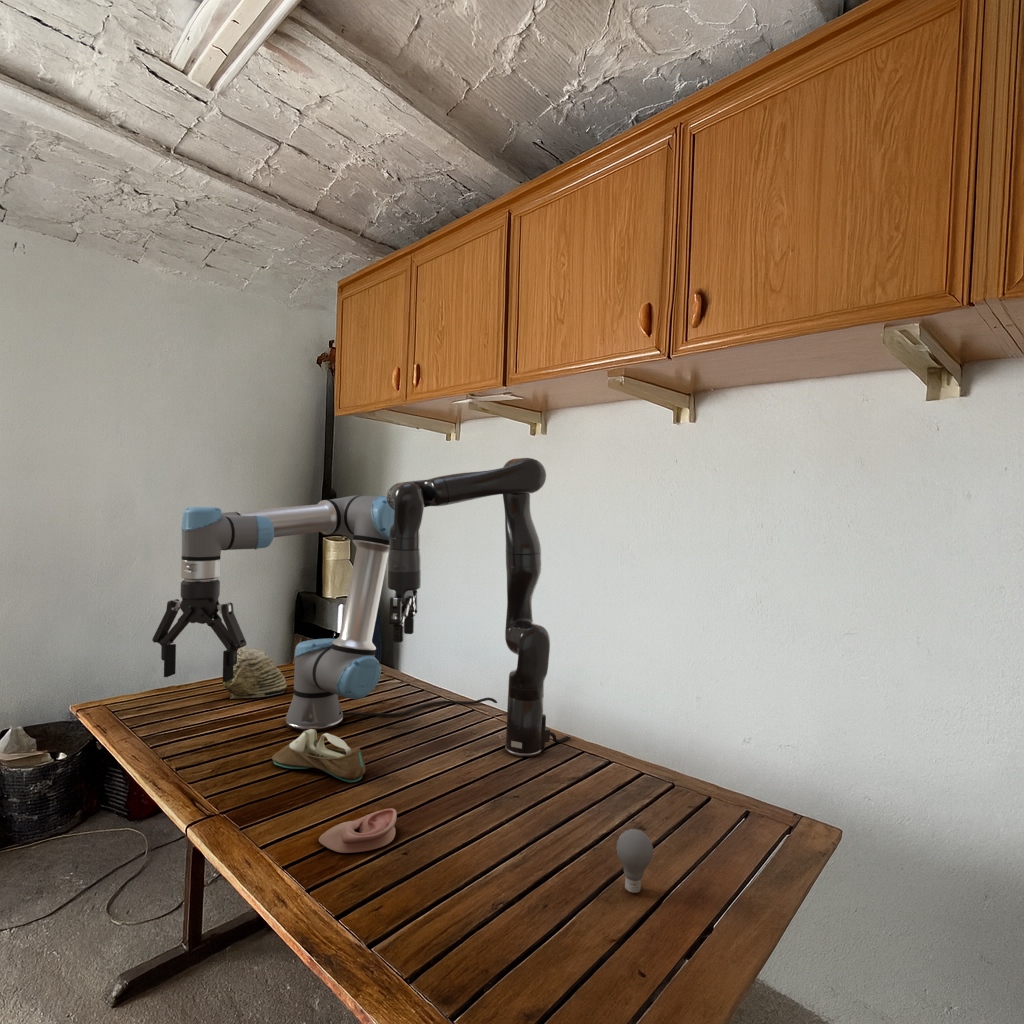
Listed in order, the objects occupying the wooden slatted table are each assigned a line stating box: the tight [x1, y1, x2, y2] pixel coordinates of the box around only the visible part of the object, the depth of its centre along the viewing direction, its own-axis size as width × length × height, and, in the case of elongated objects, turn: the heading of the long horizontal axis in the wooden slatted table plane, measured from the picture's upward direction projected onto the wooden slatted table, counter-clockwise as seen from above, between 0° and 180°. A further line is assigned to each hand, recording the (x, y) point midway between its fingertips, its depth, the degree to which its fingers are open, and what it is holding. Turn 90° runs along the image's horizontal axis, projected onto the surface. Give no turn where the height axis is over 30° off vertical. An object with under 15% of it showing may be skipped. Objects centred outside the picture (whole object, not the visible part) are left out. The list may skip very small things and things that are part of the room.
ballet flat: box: [271, 729, 366, 783], centre depth 146 cm, size 8×24×9 cm, turn 66°
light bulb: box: [615, 828, 654, 894], centre depth 106 cm, size 6×6×10 cm
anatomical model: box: [318, 807, 398, 854], centre depth 118 cm, size 13×4×12 cm
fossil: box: [222, 646, 288, 699], centre depth 198 cm, size 9×18×15 cm, turn 132°
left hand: (198, 678), depth 136 cm, fingers open, 13 cm apart
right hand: (403, 637), depth 148 cm, fingers open, 8 cm apart
